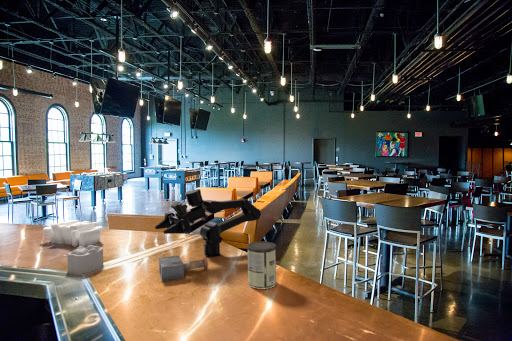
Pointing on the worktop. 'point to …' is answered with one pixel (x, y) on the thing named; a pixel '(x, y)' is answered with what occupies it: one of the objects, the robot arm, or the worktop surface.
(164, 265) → the block
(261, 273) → the coffee can
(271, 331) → the worktop surface
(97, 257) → the lumpy-topped squat cylinder
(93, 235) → the wavy white extrusion
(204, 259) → the pin
